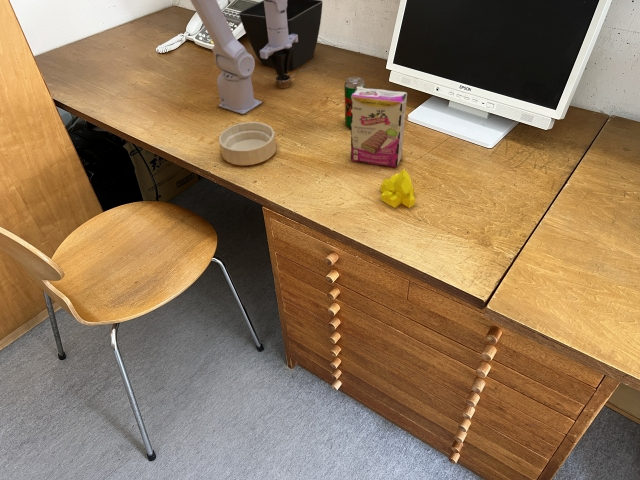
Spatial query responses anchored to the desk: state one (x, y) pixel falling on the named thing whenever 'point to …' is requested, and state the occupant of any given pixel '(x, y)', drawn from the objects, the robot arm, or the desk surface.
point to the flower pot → (301, 21)
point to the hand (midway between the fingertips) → (282, 74)
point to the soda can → (349, 90)
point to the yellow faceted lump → (398, 190)
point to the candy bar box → (377, 126)
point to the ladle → (283, 80)
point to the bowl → (247, 143)
